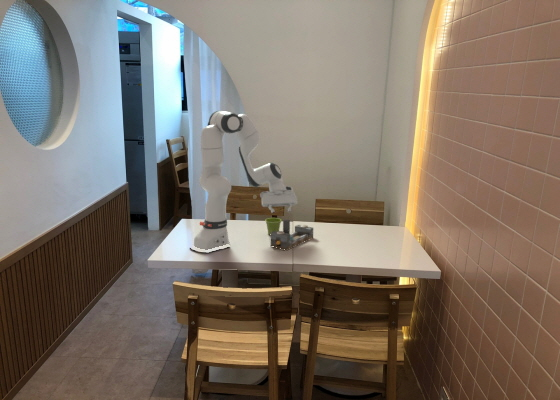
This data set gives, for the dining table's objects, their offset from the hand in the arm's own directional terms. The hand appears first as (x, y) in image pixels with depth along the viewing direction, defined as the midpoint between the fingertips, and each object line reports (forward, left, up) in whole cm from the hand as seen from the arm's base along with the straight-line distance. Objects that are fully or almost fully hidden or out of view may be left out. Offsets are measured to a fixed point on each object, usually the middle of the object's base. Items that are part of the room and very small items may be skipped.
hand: (281, 212), depth 254 cm
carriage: (-6, -8, -14) cm, 17 cm away
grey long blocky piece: (0, -8, -16) cm, 18 cm away
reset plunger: (-12, -8, -14) cm, 20 cm away
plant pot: (+5, +9, -16) cm, 19 cm away
